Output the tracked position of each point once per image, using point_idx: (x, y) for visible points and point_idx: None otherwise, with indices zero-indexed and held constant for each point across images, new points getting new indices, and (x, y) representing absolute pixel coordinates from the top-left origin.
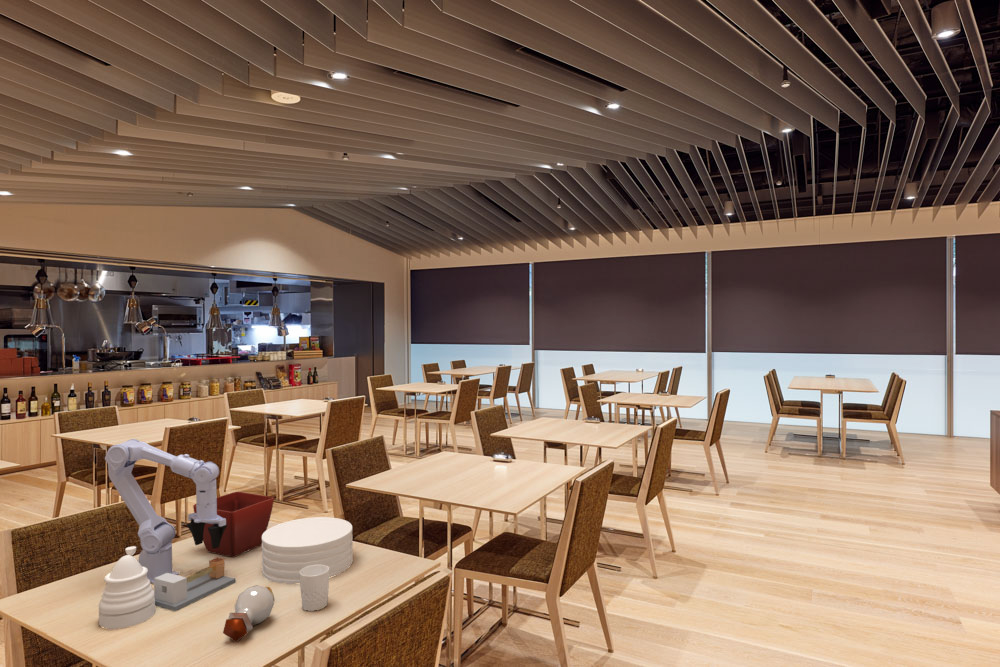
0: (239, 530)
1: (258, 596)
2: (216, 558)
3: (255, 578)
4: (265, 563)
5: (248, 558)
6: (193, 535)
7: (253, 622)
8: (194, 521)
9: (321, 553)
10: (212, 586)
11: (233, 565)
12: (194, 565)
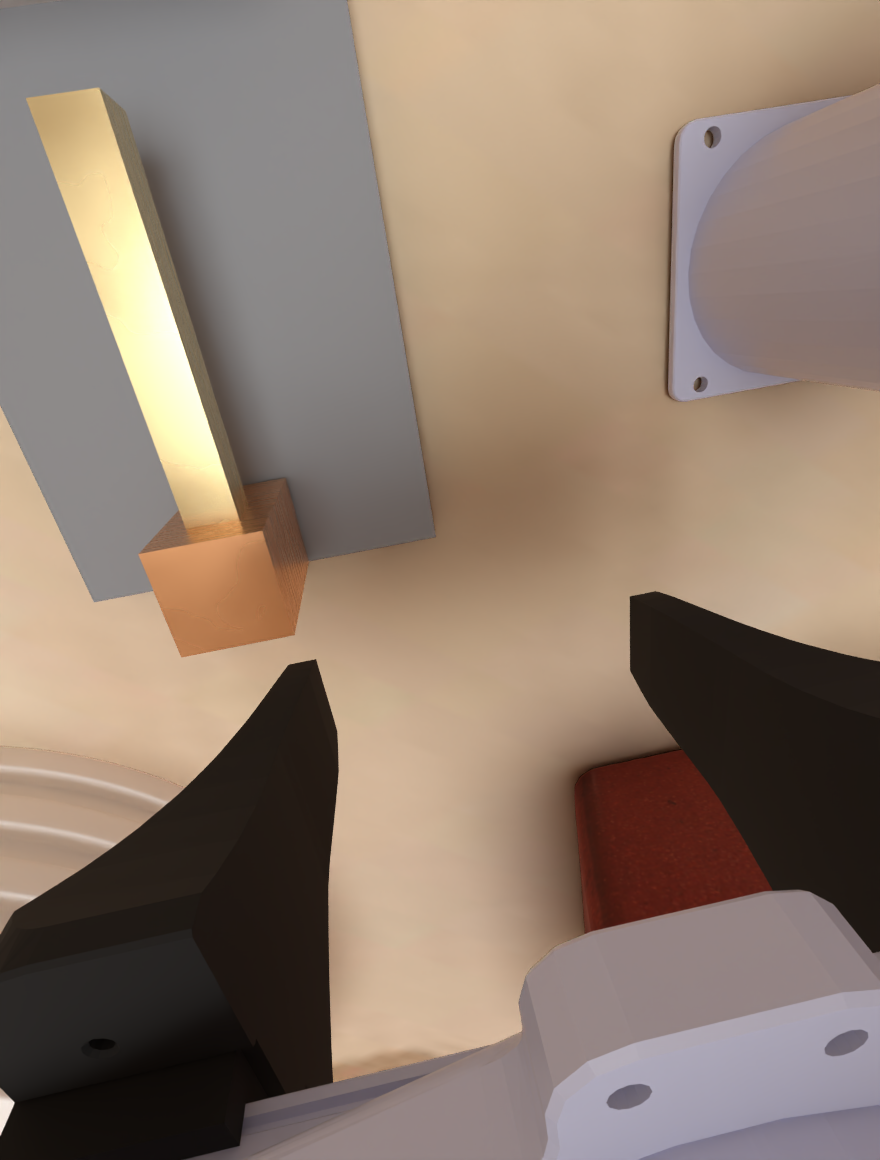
0: None
1: None
2: (270, 615)
3: (71, 705)
4: (35, 841)
5: (471, 817)
6: (749, 642)
7: None
8: (785, 933)
9: None
10: (56, 390)
11: (449, 718)
12: (709, 564)
